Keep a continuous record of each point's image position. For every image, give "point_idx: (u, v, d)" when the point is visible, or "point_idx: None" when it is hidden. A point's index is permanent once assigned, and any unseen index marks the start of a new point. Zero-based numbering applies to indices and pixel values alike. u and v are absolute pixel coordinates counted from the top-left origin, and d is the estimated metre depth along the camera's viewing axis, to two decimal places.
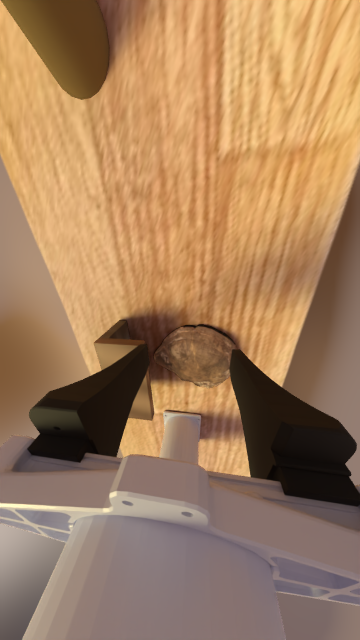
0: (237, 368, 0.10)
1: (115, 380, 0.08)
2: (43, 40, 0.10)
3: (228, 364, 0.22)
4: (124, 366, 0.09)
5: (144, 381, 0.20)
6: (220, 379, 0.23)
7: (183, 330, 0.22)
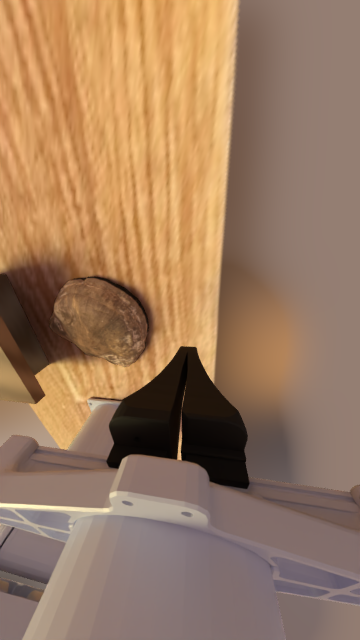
0: (187, 365, 0.11)
1: (178, 385, 0.08)
2: None
3: (125, 327, 0.16)
4: (179, 370, 0.09)
5: None
6: (124, 350, 0.18)
7: (70, 284, 0.17)
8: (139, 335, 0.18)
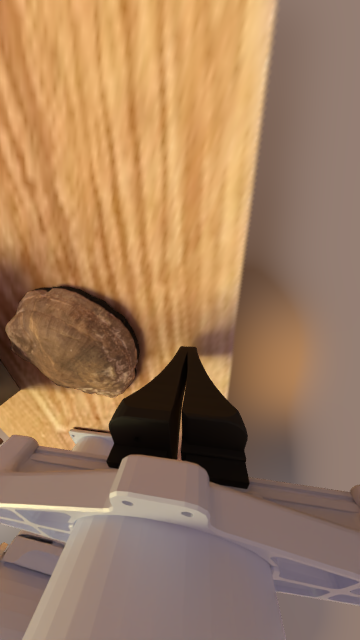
0: (187, 365, 0.11)
1: (178, 385, 0.08)
2: None
3: (105, 357, 0.12)
4: (179, 370, 0.09)
5: None
6: (106, 384, 0.13)
7: (29, 296, 0.12)
8: (126, 365, 0.13)
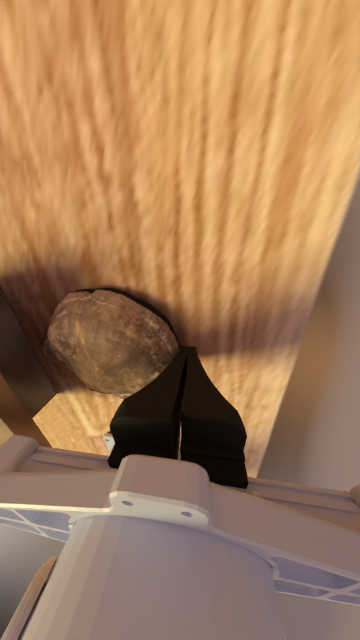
0: (186, 365, 0.11)
1: (179, 386, 0.08)
2: None
3: (152, 362, 0.11)
4: (180, 370, 0.09)
5: None
6: None
7: (71, 298, 0.12)
8: None
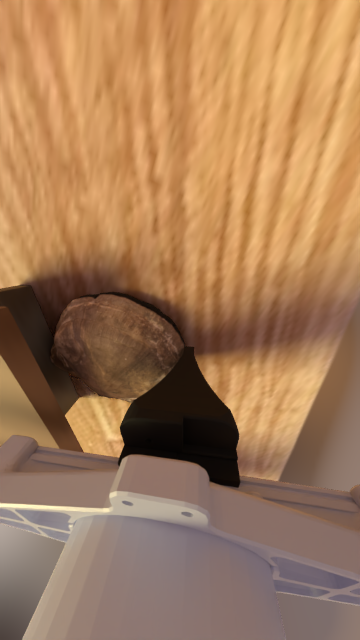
0: None
1: None
2: None
3: (159, 364, 0.11)
4: (187, 371, 0.09)
5: (27, 403, 0.09)
6: None
7: (75, 304, 0.12)
8: None
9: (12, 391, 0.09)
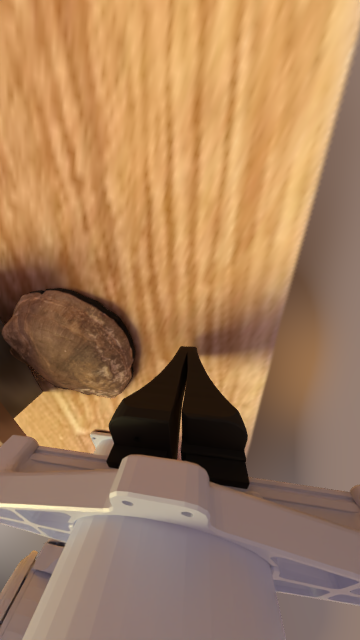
0: (187, 365, 0.11)
1: (178, 385, 0.08)
2: None
3: (99, 356, 0.12)
4: (179, 370, 0.09)
5: None
6: (103, 384, 0.13)
7: (24, 299, 0.13)
8: (121, 364, 0.13)
9: None
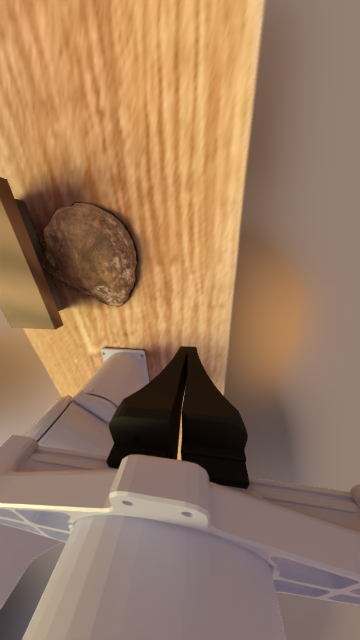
0: (187, 365, 0.11)
1: (178, 385, 0.08)
2: None
3: (113, 247, 0.17)
4: (179, 370, 0.09)
5: (20, 252, 0.14)
6: (114, 277, 0.18)
7: (58, 211, 0.17)
8: (128, 261, 0.18)
9: (10, 241, 0.14)
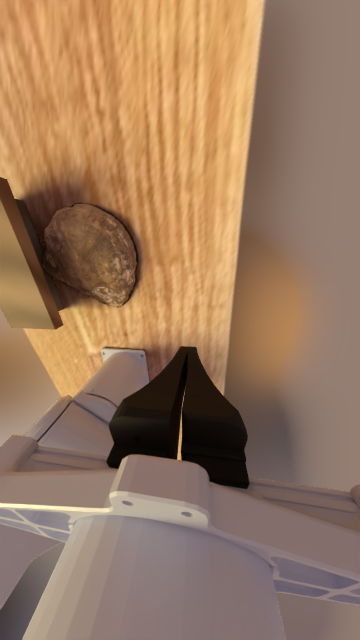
0: (187, 365, 0.11)
1: (178, 385, 0.08)
2: None
3: (113, 248, 0.17)
4: (179, 370, 0.09)
5: (20, 252, 0.14)
6: (114, 278, 0.18)
7: (58, 212, 0.17)
8: (128, 262, 0.18)
9: (10, 241, 0.14)
